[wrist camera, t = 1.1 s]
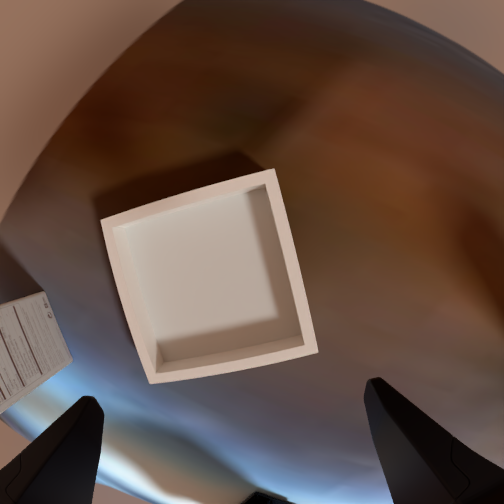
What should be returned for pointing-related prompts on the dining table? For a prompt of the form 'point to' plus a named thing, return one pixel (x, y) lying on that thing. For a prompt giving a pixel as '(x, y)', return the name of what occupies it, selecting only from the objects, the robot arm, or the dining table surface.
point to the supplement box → (28, 347)
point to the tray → (211, 280)
